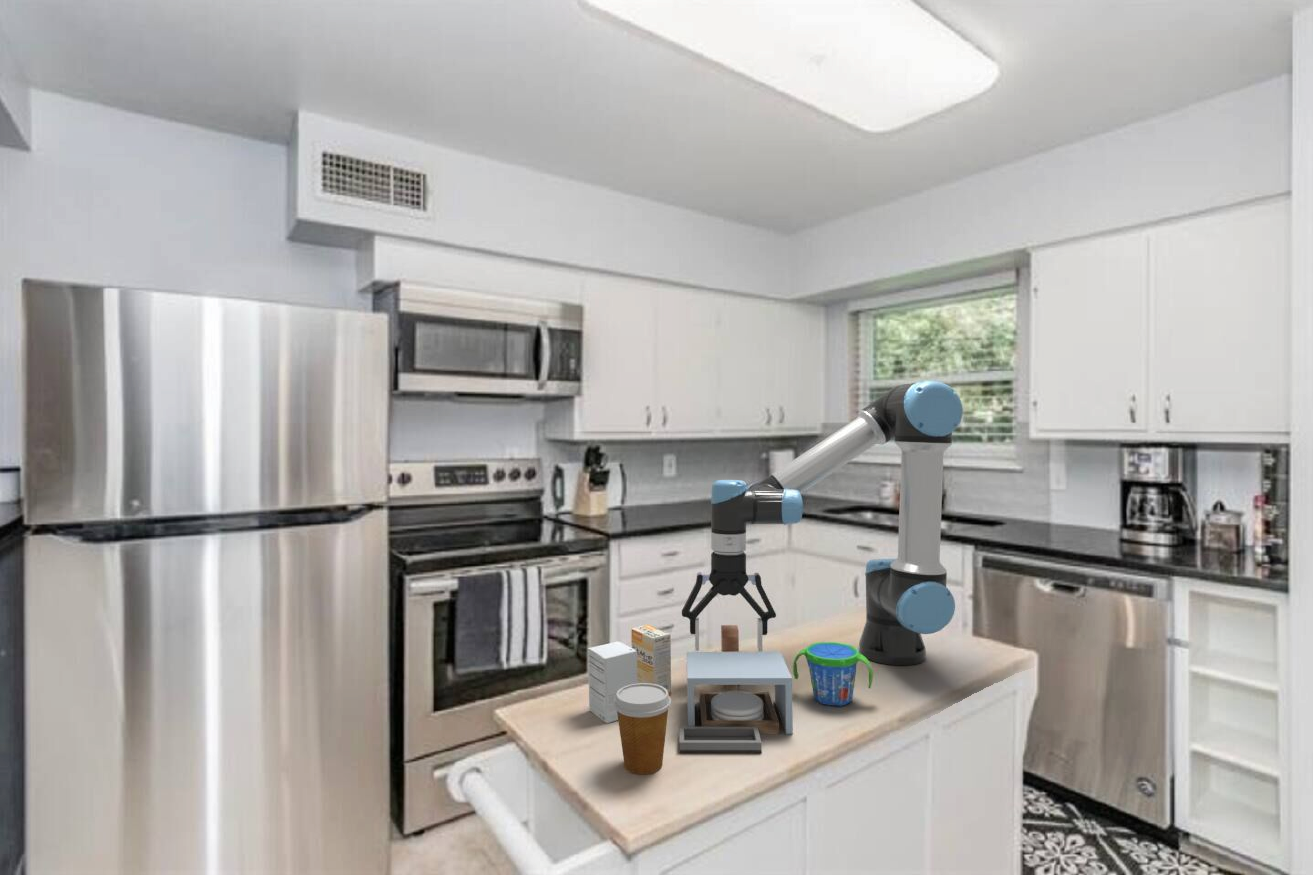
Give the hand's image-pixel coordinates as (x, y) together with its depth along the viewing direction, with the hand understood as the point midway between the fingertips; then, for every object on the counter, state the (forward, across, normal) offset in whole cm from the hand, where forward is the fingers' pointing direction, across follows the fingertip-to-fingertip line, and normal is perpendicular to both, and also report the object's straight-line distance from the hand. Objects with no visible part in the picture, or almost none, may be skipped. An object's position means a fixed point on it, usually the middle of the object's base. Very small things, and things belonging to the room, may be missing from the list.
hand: (728, 649), depth 145 cm
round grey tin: (+8, 0, -17) cm, 19 cm away
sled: (+7, 0, -11) cm, 13 cm away
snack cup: (+7, +20, -9) cm, 24 cm away
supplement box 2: (+8, -16, -5) cm, 19 cm away
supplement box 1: (+8, -24, -15) cm, 29 cm away
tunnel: (+7, 0, -17) cm, 19 cm away
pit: (+7, -4, -28) cm, 29 cm away
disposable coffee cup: (+8, -16, -35) cm, 39 cm away
